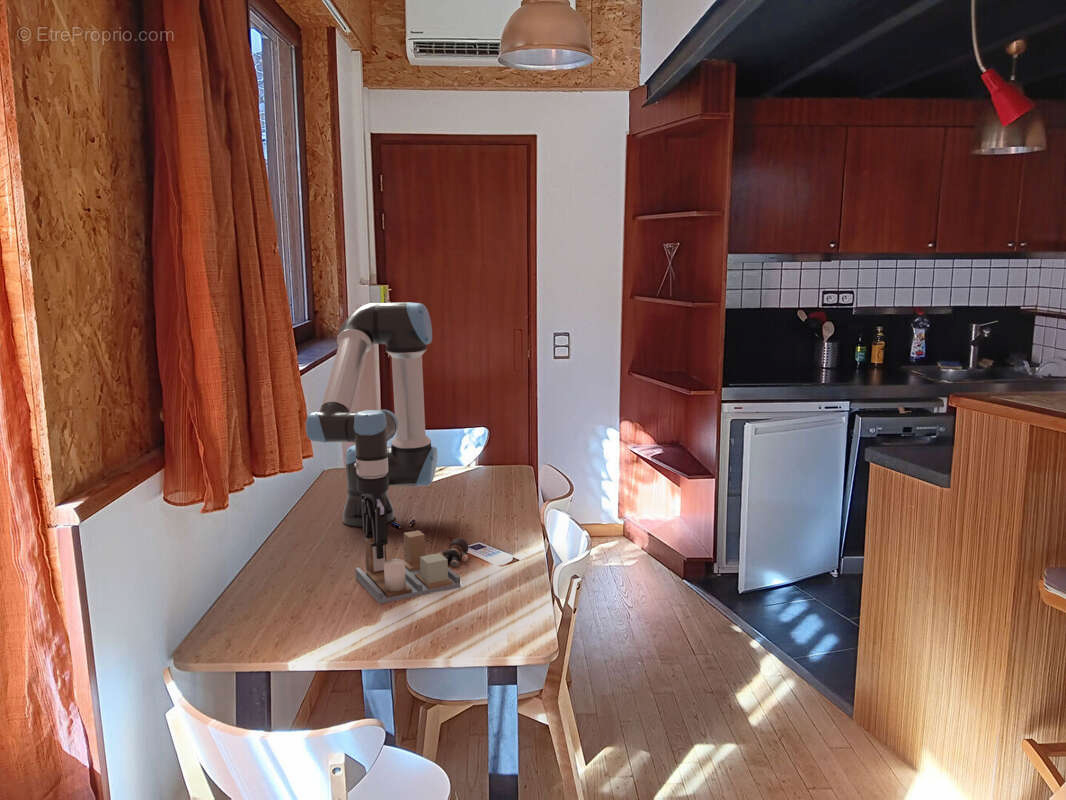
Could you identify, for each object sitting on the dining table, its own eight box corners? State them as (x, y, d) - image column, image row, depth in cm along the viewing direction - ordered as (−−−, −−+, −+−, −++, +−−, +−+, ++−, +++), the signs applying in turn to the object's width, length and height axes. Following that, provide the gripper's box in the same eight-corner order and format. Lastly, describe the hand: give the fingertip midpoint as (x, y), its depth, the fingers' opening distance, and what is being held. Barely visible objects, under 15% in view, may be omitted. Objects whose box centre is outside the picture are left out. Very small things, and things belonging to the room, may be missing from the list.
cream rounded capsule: (381, 585, 195) (380, 561, 194) (401, 581, 197) (400, 557, 196) (388, 592, 190) (387, 567, 189) (408, 588, 193) (407, 563, 192)
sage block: (420, 576, 200) (419, 556, 199) (440, 572, 202) (439, 553, 202) (428, 583, 196) (427, 563, 195) (448, 579, 198) (447, 559, 197)
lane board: (354, 576, 205) (352, 541, 204) (431, 562, 215) (429, 528, 213) (378, 603, 189) (377, 565, 187) (460, 586, 198) (459, 550, 197)
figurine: (464, 573, 211) (478, 552, 220) (462, 556, 209) (476, 536, 218) (433, 570, 214) (448, 549, 223) (431, 553, 212) (446, 533, 221)
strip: (362, 570, 206) (360, 539, 205) (385, 566, 209) (384, 535, 208) (387, 597, 190) (385, 563, 188) (412, 592, 193) (411, 559, 191)
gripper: (347, 469, 208) (351, 559, 211) (368, 485, 193) (372, 581, 197) (376, 465, 211) (380, 554, 215) (399, 480, 196) (402, 575, 200)
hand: (376, 567), depth 206 cm, fingers closed on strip, 4 cm apart
